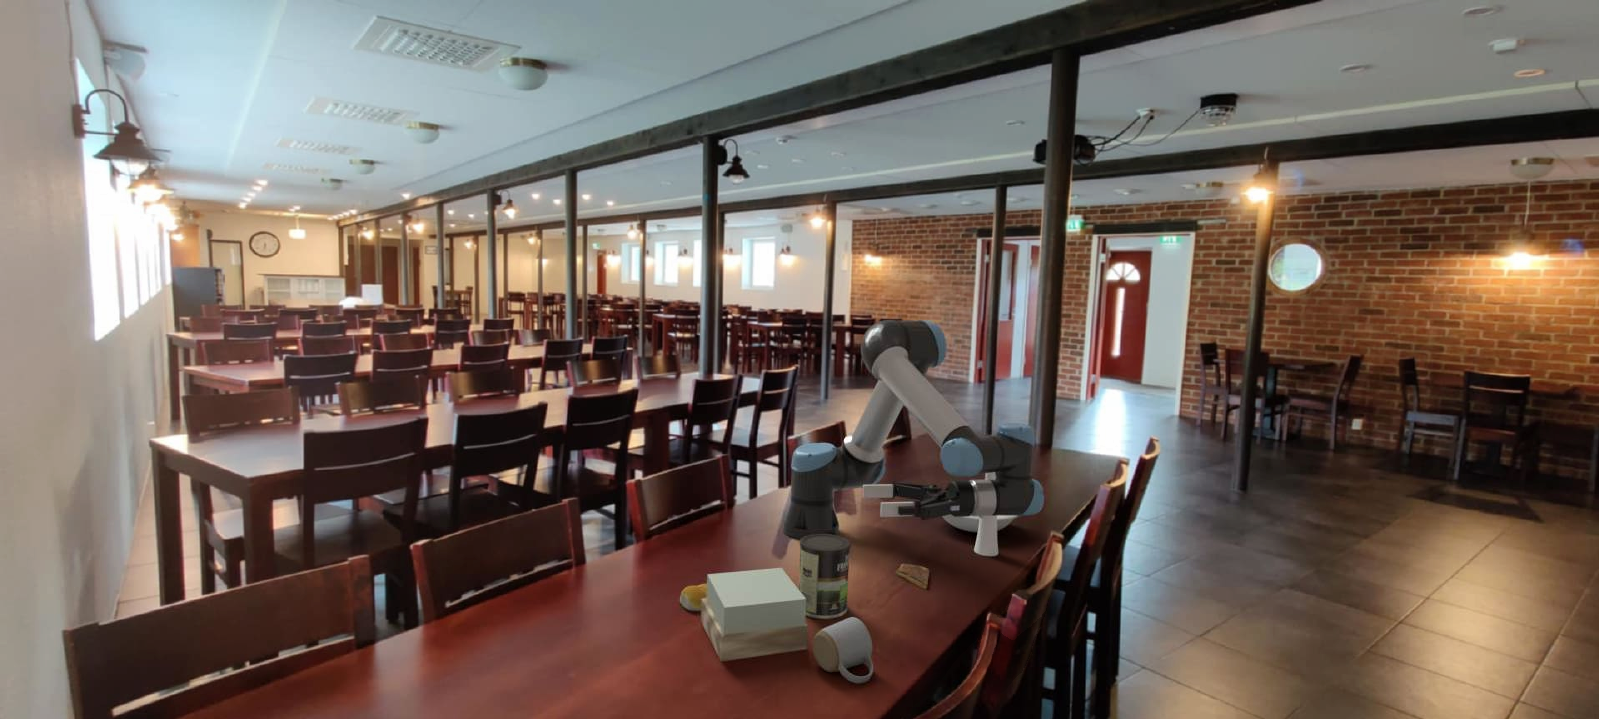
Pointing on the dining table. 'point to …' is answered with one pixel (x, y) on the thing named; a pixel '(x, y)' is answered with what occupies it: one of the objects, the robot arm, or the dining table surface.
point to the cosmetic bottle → (987, 531)
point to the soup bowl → (975, 522)
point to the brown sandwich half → (914, 574)
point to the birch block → (751, 639)
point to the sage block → (755, 601)
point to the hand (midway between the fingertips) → (871, 500)
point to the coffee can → (824, 575)
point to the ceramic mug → (844, 648)
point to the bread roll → (693, 597)
